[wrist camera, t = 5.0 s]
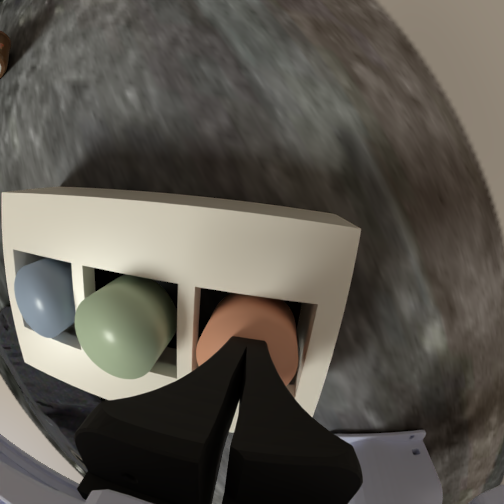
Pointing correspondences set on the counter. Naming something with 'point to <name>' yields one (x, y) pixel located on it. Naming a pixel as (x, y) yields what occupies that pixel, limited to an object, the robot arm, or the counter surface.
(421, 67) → the counter surface
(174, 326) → the sage green button
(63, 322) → the slate blue button
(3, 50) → the tin
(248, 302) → the terracotta button
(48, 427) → the black fabric pouch
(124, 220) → the button console
